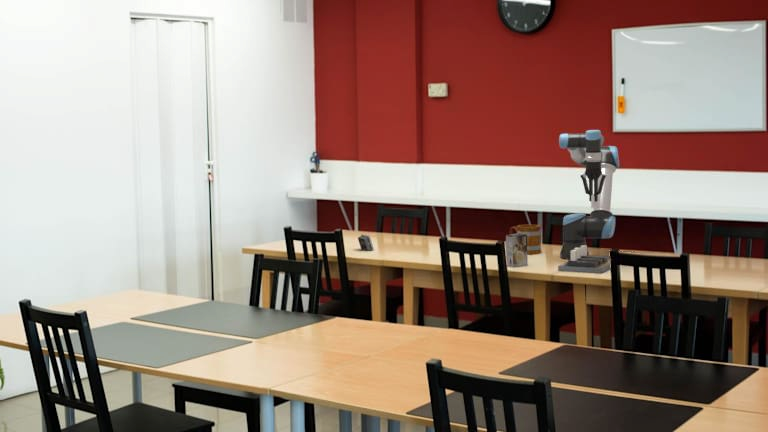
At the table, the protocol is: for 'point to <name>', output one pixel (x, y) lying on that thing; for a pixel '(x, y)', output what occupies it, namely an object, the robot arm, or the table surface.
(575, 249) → the block
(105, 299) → the table surface
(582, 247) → the block
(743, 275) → the table surface
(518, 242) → the coffee box
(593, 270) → the panel
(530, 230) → the mug
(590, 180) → the robot arm
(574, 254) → the breaker near
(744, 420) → the table surface
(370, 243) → the electrical switch
